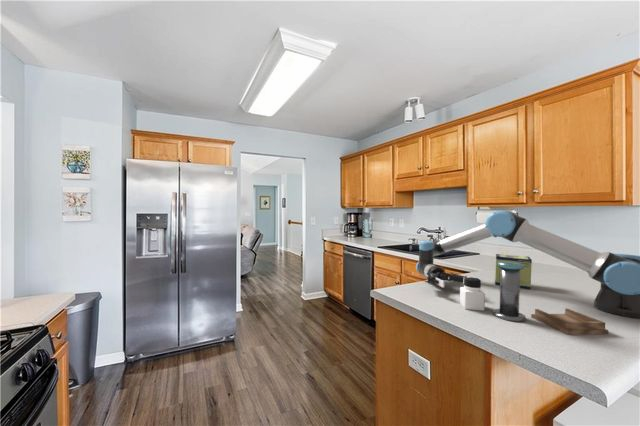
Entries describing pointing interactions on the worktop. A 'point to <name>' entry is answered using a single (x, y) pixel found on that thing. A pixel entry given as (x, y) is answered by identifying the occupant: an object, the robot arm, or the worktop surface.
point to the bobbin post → (509, 292)
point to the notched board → (571, 322)
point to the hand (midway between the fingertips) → (458, 284)
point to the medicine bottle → (472, 294)
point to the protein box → (524, 273)
